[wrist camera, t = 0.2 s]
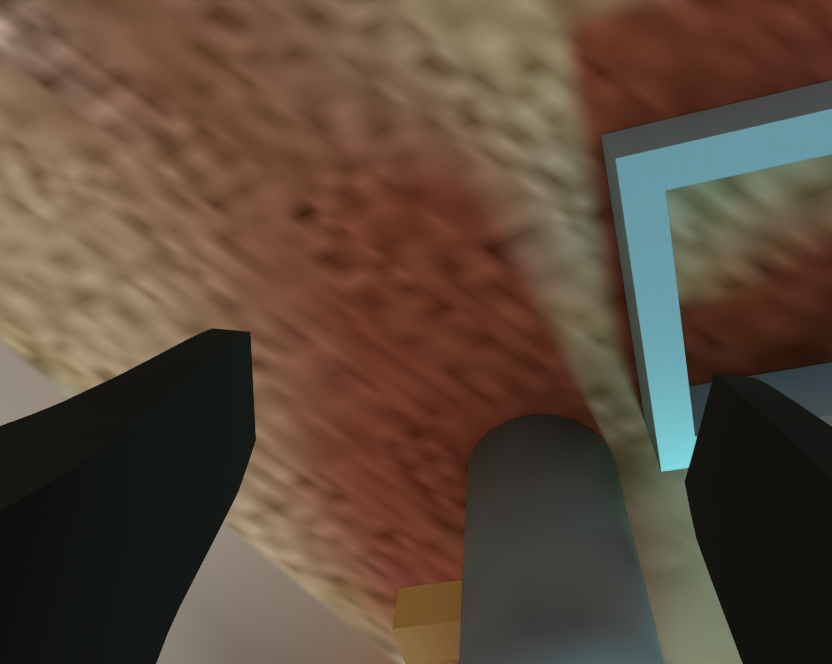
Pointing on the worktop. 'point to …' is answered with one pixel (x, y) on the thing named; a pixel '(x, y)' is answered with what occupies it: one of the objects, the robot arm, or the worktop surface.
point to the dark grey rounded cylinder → (537, 560)
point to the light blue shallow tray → (652, 247)
